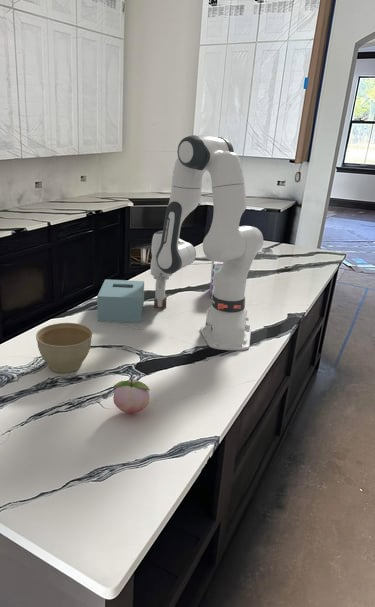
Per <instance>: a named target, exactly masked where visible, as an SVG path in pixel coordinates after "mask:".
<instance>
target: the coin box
mask: <svg viewBox="0 0 375 607" xmlns="http://www.w3.org/2000/svg"><path fill="white" fill-rule="evenodd" d="M96 299H97V302H96V303H97V304H96V305H97V322H110V323H111V322H112V323H133V324H134V323H136V324H137V323H138V324H141V320H142V315H143V309H144V305H145V281H144V280H125V279H104V282H103V283H102V285H101V288H100V290H99V292H98V294H97V298H96Z"/></svg>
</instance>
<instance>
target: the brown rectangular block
mask: <svg viewBox="0 0 375 607" xmlns="http://www.w3.org/2000/svg"><path fill="white" fill-rule="evenodd" d="M157 305H158V302H157V299H155V295H154V298H153V308H154V309H167V296H165V298H164V300H162V307H158V306H157Z"/></svg>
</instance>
